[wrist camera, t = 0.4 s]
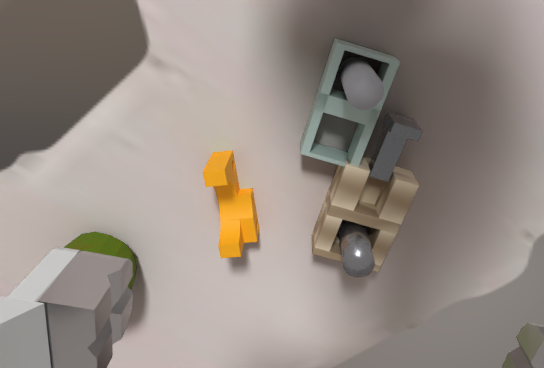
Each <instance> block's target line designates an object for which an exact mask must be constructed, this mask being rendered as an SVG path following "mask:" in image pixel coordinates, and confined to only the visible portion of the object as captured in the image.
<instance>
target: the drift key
mask: <svg viewBox="0 0 544 368" xmlns="http://www.w3.org/2000/svg"><path fill="white" fill-rule="evenodd" d="M383 121H384V123H385V127H384V129H383V132H382V134H381V136H380V139H379V141H378V144H377V146H376V149H375V151H374V153H373V156H372V158H371V161H370V163H369V165H368V166H369V169H370V173H369V177H373V178H376V179H380V180H383V181H387V182H388V181H389V179H390V177H391V175H392V172H393V170H394V168H395V166H396V163H397V161H398V159H399V157H400V154H401V152H402V150H403V147H404V145H405V143H406V141H407V138H409V139H412V140H415V141H418V140H419V138H420V136H421V134H422V130H421V128H420V127H419V126H418V125H417V123H416V122H415V121H414V119H412V118H409V117H405V116H402V115H398V114H395V113H392V112H388V111H387V113H386V115H385V118H384V120H383Z"/></svg>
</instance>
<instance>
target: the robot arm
mask: <svg viewBox="0 0 544 368" xmlns="http://www.w3.org/2000/svg"><path fill="white" fill-rule="evenodd" d="M132 277H133V263H132V262H131V260H130V259H126V258H121V257H115V256H110V255H104V254H99V253H93V252H88V251H80V250H75V249H69V248H64V247H57V248H54V249H52V250H51V251H50V252H49V253H48V254H47V255H46V256H45V257H44V258H43V259H42V261H41V262H40V263H39V264H38V265H37V266H36V267H35V268H34V269H33V270H32V271H31V272H30V273H29V274H28V275H27V276H26V277H25V278H24V280H23V281H22V282H21V283H20V284H19V285H18V286H17V287H16V288H15V289H14V290H13V291H12V292H11V293H10V294H9V295H8V296H7V297H3V296H0V368H107V366H108V364H109V362H110V360H111V358H112V344H114V343H115V342H117V341H119V340H120V339H122V337H123V335H124V332H125V330H126V328H127V326H128V322H129V319H130V316H131V311H132V304H133V293H132V291H131V290H130V289H129V287H128V284H129V282H130V280H131V279H132ZM516 338H517V340H518V343H519V347H518V348H516V349H514V350H513V351H511V352H509V353H508V355H507V357H506V359H505V361H504V363H503V366H502V368H544V326H543V325H537V324H530V323H527V324H526V325H525V326H523V327H522V328H521V330H520V332H519V334H518V335H517V337H516Z"/></svg>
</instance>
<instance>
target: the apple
mask: <svg viewBox="0 0 544 368" xmlns="http://www.w3.org/2000/svg"><path fill="white" fill-rule="evenodd" d="M64 248H69V249H75V250H80V251H88V252H93V253H99V254H104V255H110V256H115V257H121V258H126V259H130V260H131V262H132V263H133V277H132V279H131V280H130V282H129V284H128V287H129V289H130V290H131V288H132V285H133V282H134V279H135V275H136V262H135V259H134V256H133V253H132V252H131V250H130V249H129V248H128V247H127V246H126V245H125V244H124V242H122V241H120V240H118V239H116V238H114V237H112V236H111V235H107V234H103V233H98V232H92V233H85V234H81V235H80V236H79V237H77V238H76V239H74V240H73V241H72V242H70V243H69V244H68V245H66V246H65V247H64Z"/></svg>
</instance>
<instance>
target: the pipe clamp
mask: <svg viewBox="0 0 544 368" xmlns="http://www.w3.org/2000/svg"><path fill="white" fill-rule="evenodd" d="M203 176H204V181H205V185H206V187H210V186H213V187H214V189H215V191H216V194H217V198H218V203H219V209H220V220H221V231H220V240H219V244H218V246H219V251H220V256H221V258H230V257H241V254H242V250H243V246H244V243H248V242H257V240H258V235H259V224H258V218H257V212H256V206H255V200H254V194H253V188H249V189H239V183H238V178H237V172H236V166H235V161H234V155H233V151H223V152H213V154H212V155H211V157H210V159H209V161H208V163H207V165H206V167H205V168H204V170H203Z"/></svg>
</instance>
